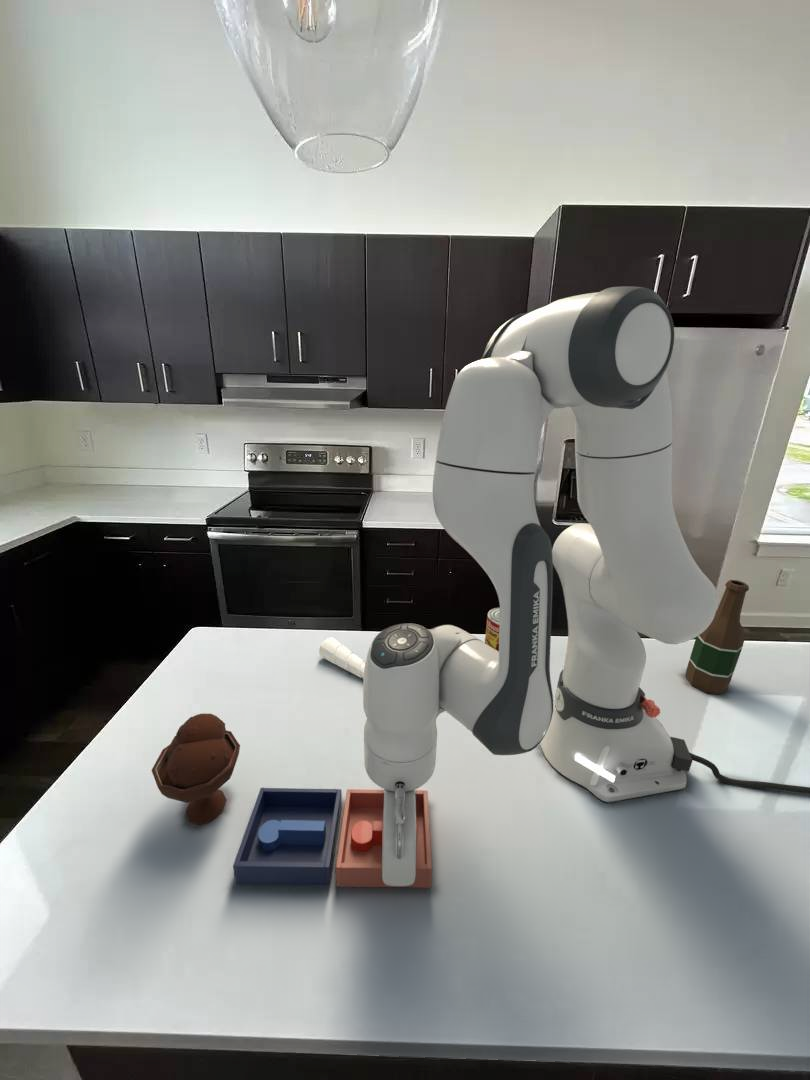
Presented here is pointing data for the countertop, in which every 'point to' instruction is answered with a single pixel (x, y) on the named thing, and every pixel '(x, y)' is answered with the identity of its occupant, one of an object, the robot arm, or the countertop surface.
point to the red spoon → (368, 835)
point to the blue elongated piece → (291, 833)
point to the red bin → (368, 864)
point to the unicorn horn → (341, 656)
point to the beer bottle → (719, 643)
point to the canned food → (493, 628)
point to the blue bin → (290, 860)
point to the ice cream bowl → (198, 766)
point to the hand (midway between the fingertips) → (398, 829)
